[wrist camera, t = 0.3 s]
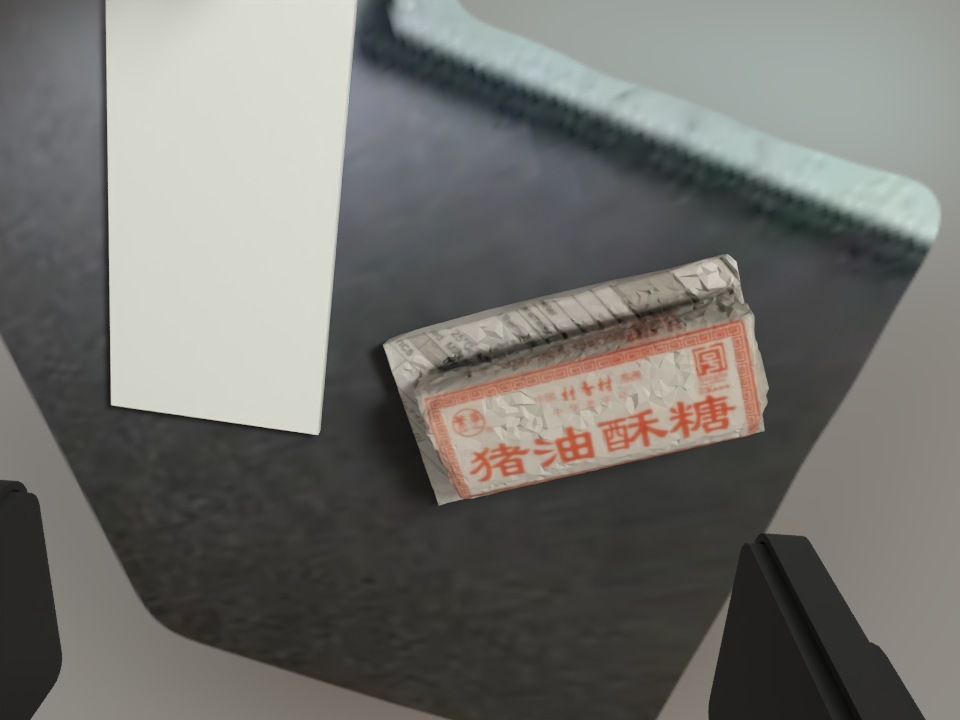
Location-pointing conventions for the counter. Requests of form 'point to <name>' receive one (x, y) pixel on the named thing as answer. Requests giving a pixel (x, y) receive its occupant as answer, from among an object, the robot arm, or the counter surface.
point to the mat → (225, 203)
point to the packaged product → (582, 379)
